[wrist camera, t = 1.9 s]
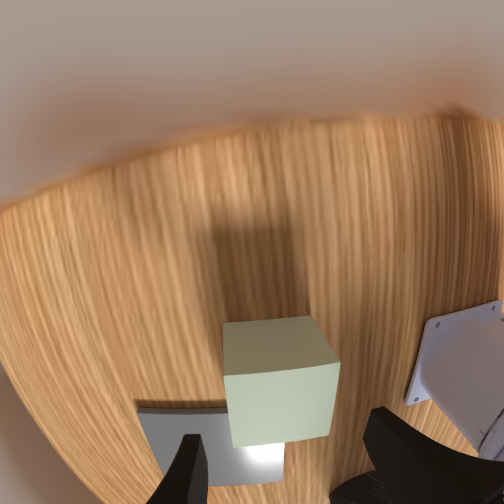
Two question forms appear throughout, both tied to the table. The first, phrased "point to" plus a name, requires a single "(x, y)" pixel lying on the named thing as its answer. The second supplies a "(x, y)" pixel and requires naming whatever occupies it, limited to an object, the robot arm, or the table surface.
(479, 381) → the robot arm
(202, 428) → the coaster
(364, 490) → the travel mug
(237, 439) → the cube
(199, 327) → the table surface
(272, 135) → the table surface
